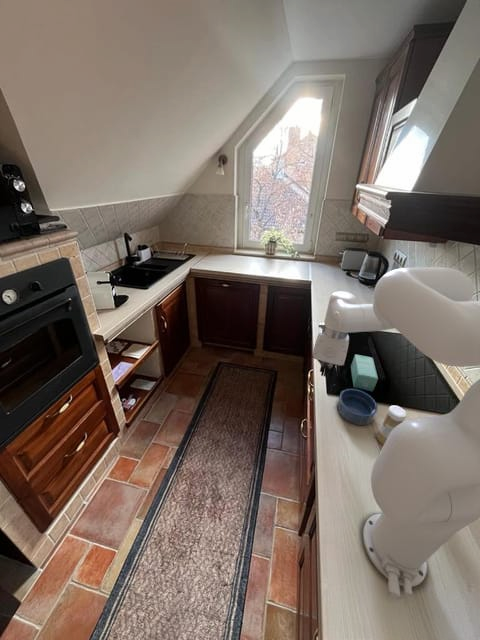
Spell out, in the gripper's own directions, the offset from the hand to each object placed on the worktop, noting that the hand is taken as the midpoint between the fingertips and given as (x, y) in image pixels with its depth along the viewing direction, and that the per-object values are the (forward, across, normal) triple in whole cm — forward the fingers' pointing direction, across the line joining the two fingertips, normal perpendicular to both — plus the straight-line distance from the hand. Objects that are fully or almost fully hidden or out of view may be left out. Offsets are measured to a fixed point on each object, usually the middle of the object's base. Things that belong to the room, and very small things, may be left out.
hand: (323, 373), depth 89 cm
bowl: (+13, +13, 0) cm, 18 cm away
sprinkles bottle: (+12, +22, -9) cm, 27 cm away
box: (+13, +15, +18) cm, 27 cm away
